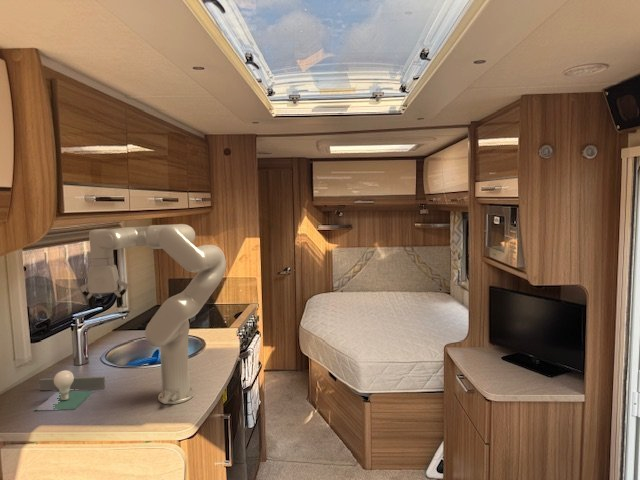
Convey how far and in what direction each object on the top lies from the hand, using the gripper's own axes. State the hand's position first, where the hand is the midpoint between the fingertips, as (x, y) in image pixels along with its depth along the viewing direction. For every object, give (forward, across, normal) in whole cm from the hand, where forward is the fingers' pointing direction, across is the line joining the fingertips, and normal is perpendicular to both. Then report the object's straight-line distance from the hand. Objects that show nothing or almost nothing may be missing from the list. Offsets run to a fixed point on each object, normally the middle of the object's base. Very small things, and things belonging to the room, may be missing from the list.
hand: (106, 307), depth 162 cm
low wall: (+32, -16, +3) cm, 36 cm away
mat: (+32, -14, -7) cm, 36 cm away
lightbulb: (+32, -14, -7) cm, 36 cm away
